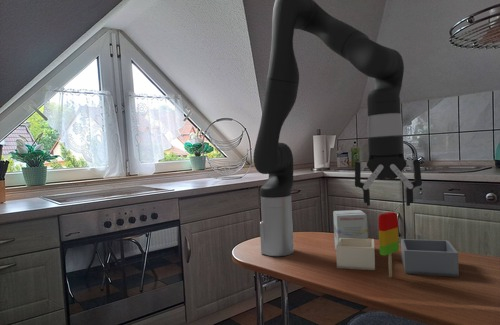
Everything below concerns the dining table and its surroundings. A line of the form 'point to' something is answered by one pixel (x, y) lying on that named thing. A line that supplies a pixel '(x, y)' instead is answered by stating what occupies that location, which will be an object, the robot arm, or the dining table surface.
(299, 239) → the dining table surface
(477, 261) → the dining table surface
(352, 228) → the ink box
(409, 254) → the caddy
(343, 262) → the cream open box
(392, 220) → the popsicle
